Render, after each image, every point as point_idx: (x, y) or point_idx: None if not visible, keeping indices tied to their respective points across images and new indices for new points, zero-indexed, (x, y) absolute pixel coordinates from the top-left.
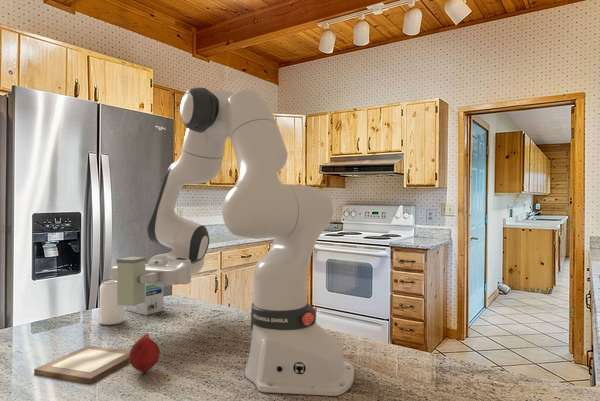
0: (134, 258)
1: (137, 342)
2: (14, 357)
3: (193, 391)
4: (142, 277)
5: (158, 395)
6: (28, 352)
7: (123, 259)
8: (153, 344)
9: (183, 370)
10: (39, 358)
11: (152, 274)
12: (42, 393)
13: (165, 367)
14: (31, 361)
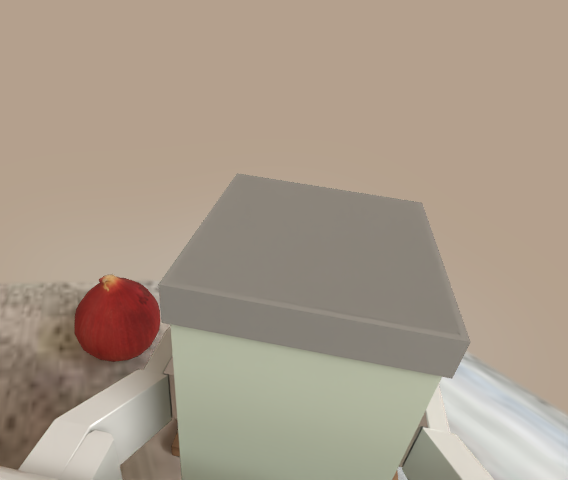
0: (278, 226)
1: (132, 281)
2: (541, 413)
3: (4, 293)
4: (170, 332)
5: (79, 282)
6: (555, 453)
7: (347, 193)
8: (87, 293)
9: (12, 373)
10: (468, 413)
11: (85, 404)
12: None
13: (67, 386)
14: (465, 393)
